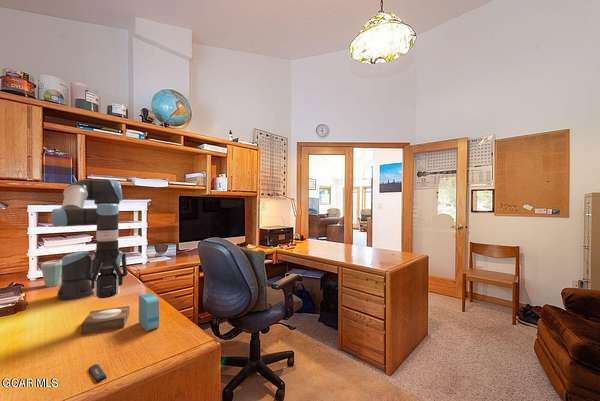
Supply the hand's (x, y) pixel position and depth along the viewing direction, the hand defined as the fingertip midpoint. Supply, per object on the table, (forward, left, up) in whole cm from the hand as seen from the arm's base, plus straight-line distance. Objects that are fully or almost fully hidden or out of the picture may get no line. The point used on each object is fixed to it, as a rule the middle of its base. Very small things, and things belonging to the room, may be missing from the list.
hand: (107, 294), depth 110 cm
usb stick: (+38, +5, -13) cm, 41 cm away
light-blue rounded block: (+9, +16, -13) cm, 22 cm away
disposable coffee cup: (-78, -43, -13) cm, 90 cm away
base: (0, 0, -12) cm, 12 cm away
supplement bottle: (0, 0, -1) cm, 1 cm away
